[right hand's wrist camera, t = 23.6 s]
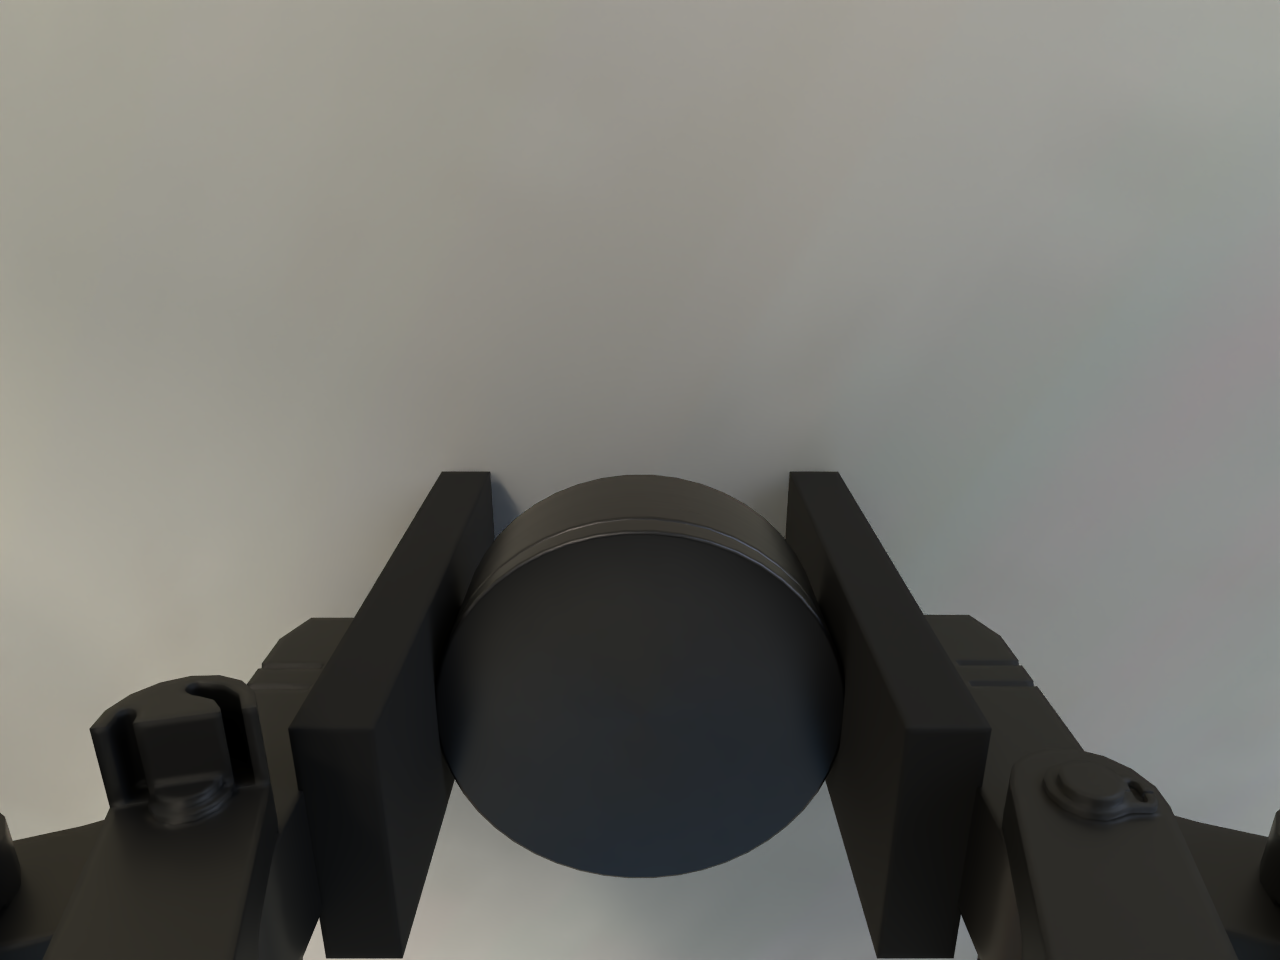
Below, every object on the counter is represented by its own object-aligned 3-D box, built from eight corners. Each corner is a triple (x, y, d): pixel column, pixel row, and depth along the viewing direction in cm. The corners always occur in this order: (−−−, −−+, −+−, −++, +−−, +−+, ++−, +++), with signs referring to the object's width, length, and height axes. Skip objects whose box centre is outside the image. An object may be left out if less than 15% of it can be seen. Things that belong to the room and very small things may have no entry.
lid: (418, 512, 11) (379, 575, 10) (791, 440, 11) (817, 493, 9) (512, 808, 13) (494, 905, 11) (838, 754, 13) (868, 847, 11)
